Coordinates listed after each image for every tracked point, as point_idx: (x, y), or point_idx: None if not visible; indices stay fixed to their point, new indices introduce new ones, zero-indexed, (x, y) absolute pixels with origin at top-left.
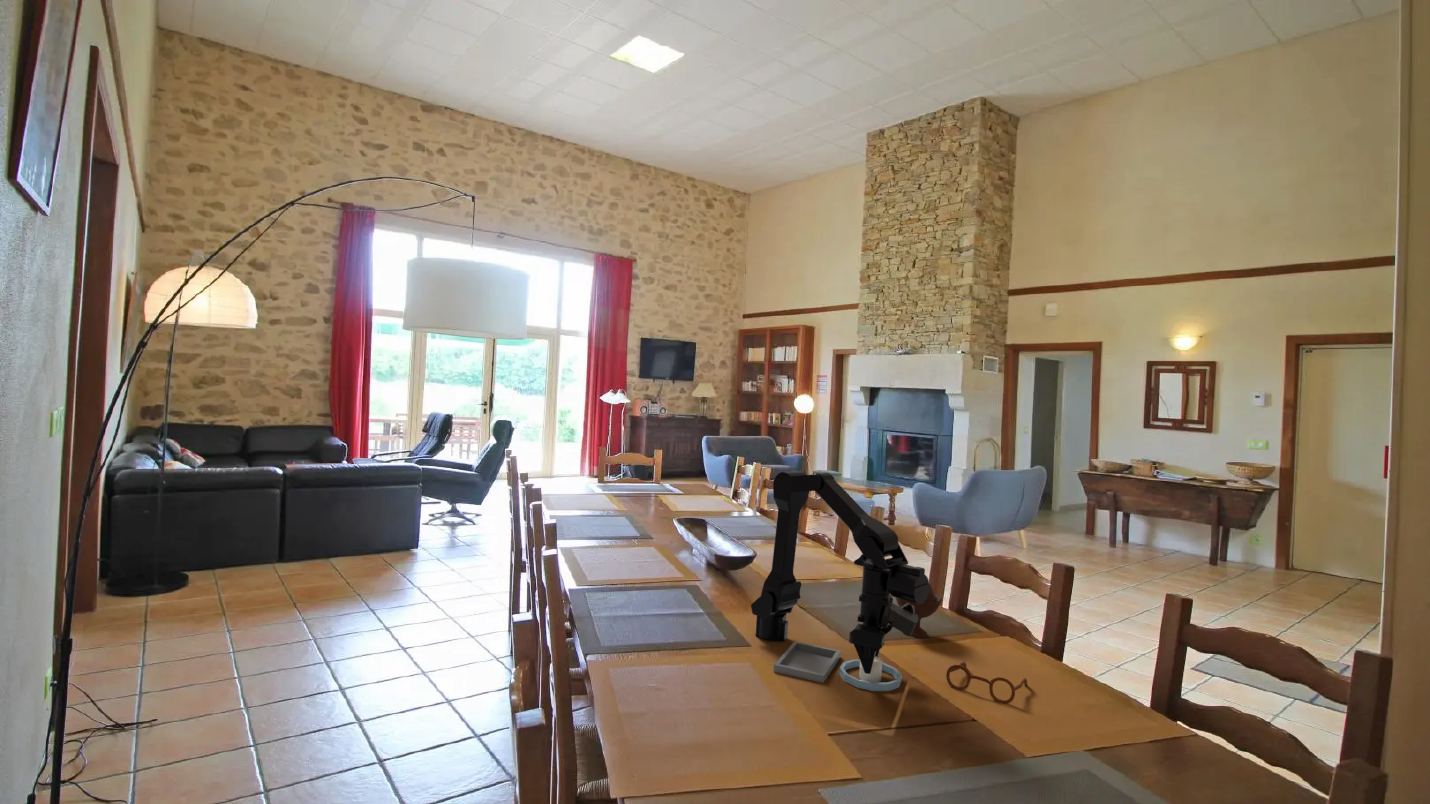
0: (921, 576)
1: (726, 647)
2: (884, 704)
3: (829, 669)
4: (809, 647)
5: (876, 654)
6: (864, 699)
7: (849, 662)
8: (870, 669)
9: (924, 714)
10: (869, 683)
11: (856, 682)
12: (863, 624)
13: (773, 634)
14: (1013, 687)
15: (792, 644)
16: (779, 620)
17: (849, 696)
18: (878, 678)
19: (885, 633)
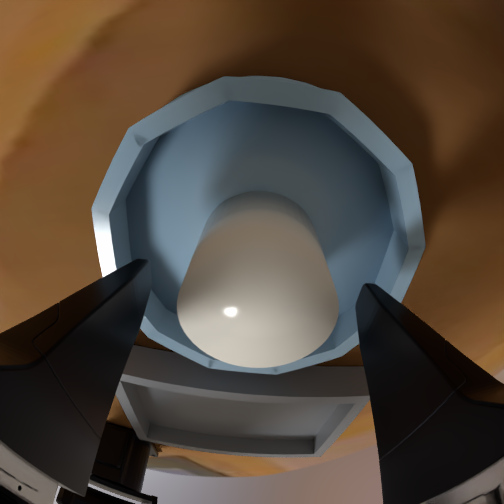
0: None
1: (214, 470)
2: (470, 177)
3: (294, 390)
4: (140, 419)
5: (135, 287)
6: (442, 250)
7: (193, 350)
8: (393, 300)
9: (495, 36)
10: (418, 263)
11: None
12: (82, 495)
13: (140, 456)
14: None
15: (164, 444)
16: (123, 478)
17: (424, 297)
18: (301, 214)
19: (6, 378)
